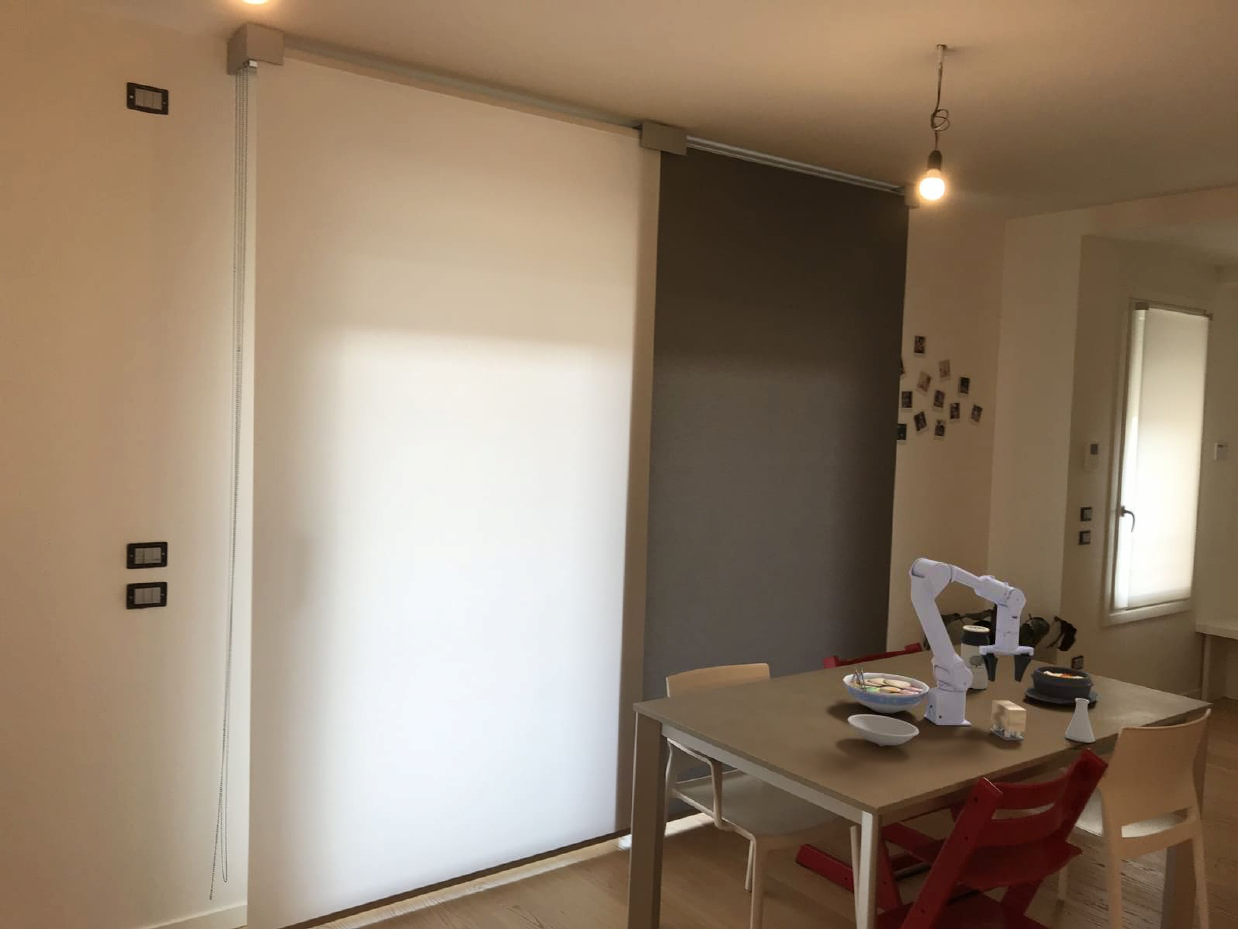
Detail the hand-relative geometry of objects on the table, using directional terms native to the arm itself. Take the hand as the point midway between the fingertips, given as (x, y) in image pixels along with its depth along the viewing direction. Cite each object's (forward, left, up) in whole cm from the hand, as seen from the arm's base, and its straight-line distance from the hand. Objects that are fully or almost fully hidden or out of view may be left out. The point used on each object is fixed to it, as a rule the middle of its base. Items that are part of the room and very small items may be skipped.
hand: (1004, 681), depth 255 cm
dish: (-43, -21, -11) cm, 49 cm away
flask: (+12, -16, -11) cm, 23 cm away
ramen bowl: (-30, +8, -11) cm, 33 cm away
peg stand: (-7, -14, -10) cm, 18 cm away
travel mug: (+9, +33, -11) cm, 36 cm away
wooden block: (-7, -14, -8) cm, 17 cm away
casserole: (+29, +19, -11) cm, 36 cm away
